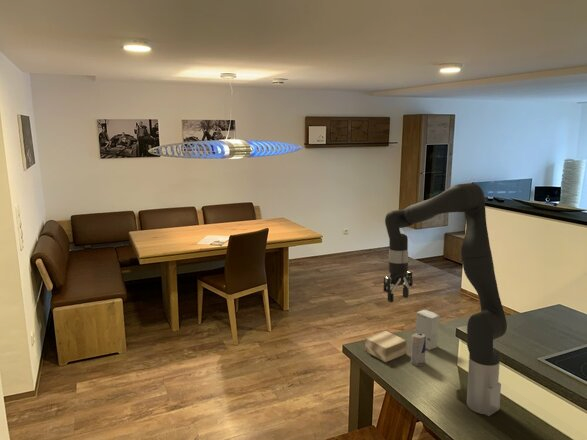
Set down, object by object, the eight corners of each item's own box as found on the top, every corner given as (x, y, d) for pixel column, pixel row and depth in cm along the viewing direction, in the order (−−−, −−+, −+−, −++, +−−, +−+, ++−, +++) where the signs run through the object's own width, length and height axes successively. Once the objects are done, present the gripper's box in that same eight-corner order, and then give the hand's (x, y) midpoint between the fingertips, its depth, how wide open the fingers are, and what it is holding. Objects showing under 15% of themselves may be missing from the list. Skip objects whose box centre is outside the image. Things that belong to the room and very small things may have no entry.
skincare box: (414, 344, 193) (415, 311, 190) (422, 340, 197) (423, 308, 194) (430, 350, 186) (431, 317, 184) (439, 346, 190) (440, 314, 187)
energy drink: (427, 362, 177) (428, 334, 175) (420, 367, 173) (421, 339, 171) (415, 358, 180) (415, 330, 178) (408, 363, 177) (409, 335, 174)
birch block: (406, 353, 184) (406, 340, 183) (385, 362, 178) (385, 348, 177) (385, 343, 194) (385, 330, 193) (365, 350, 188) (365, 337, 187)
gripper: (393, 265, 166) (392, 306, 169) (418, 259, 174) (417, 298, 177) (378, 261, 173) (378, 301, 175) (403, 255, 180) (403, 293, 183)
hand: (398, 299), depth 176 cm, fingers open, 8 cm apart
